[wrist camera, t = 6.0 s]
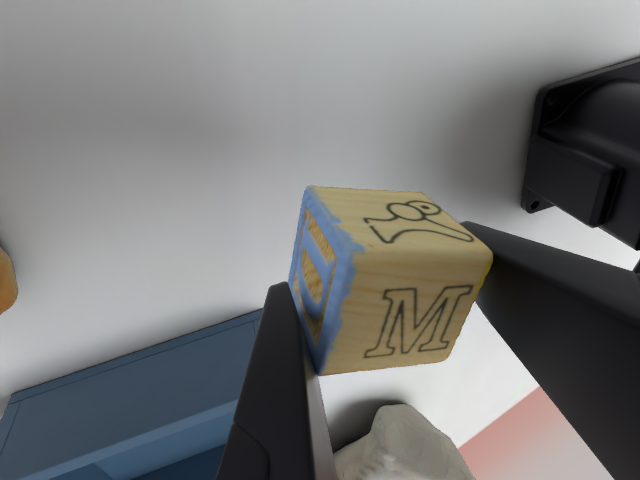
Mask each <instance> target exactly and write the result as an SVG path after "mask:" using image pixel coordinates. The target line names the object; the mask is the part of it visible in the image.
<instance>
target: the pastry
mask: <svg viewBox="0 0 640 480" xmlns="http://www.w3.org/2000/svg"><path fill="white" fill-rule="evenodd" d="M17 294H18V288H17V284H16V278H15V272H14V268H13V264H12V261H11V259H10V257H9V255H8V254H7V253H6V252H5V251H4V250H3V249H2V248H1V247H0V315H1V314H2V313H3V312H4V311H6V310H7V309H9V308H10V307H11V306H12V305H13V303H14V302H15V300H16V298H17Z"/></svg>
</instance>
